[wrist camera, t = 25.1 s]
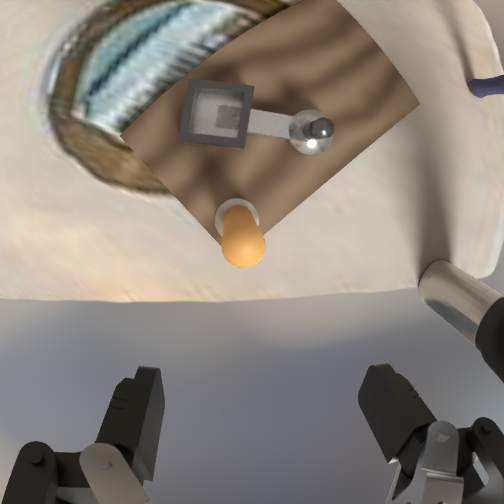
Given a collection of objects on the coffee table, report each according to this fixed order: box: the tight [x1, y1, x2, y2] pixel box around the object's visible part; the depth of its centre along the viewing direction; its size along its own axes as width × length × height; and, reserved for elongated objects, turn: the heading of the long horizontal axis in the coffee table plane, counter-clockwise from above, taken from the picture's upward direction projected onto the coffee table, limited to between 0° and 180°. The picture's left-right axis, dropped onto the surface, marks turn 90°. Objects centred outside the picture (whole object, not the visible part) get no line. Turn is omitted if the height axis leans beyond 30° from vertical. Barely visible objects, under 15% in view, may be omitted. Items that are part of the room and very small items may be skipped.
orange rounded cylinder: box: [222, 205, 266, 267], centre depth 32 cm, size 4×4×13 cm
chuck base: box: [120, 0, 420, 246], centre depth 35 cm, size 24×39×2 cm, turn 131°
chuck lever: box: [178, 79, 335, 155], centre depth 31 cm, size 19×8×7 cm, turn 82°
